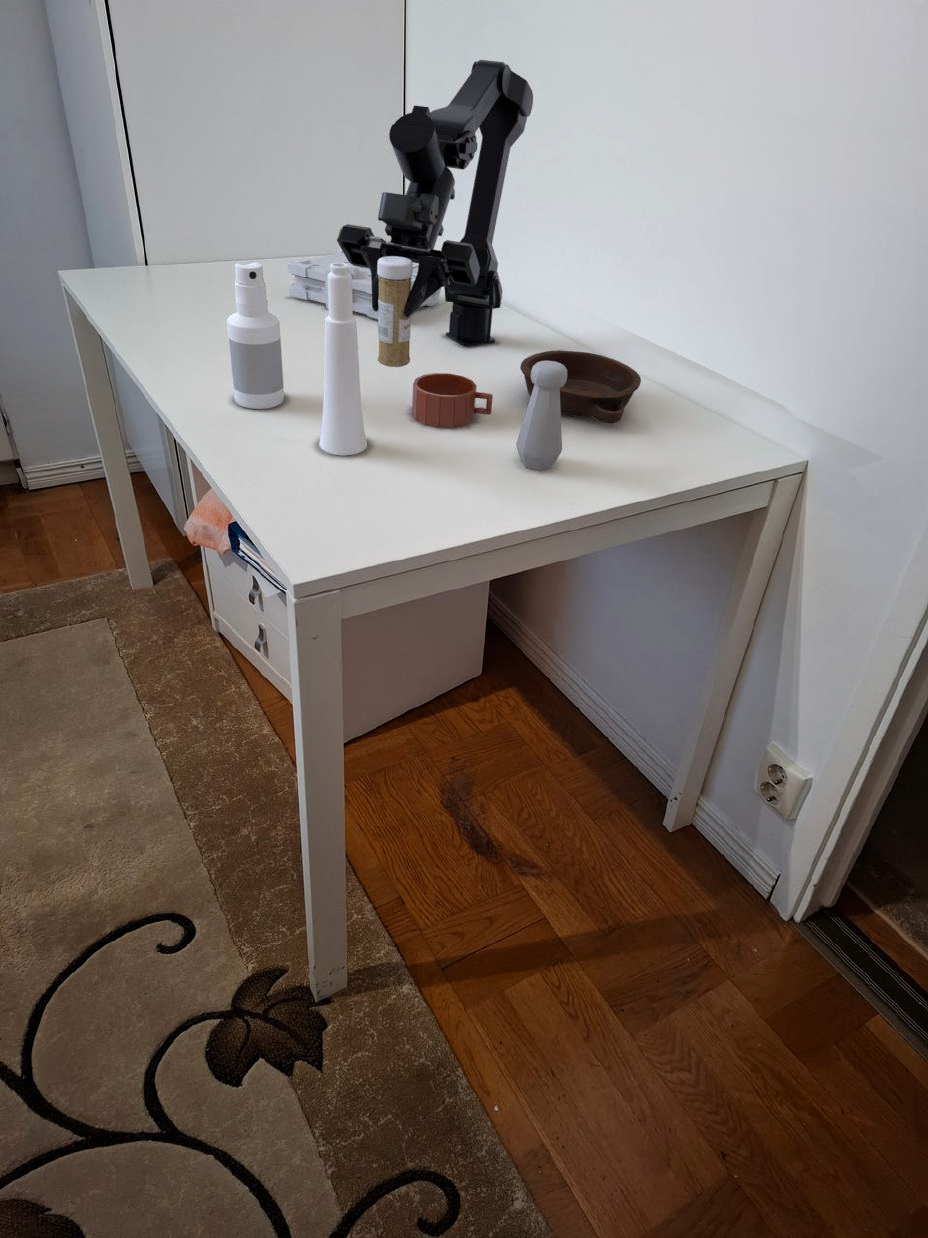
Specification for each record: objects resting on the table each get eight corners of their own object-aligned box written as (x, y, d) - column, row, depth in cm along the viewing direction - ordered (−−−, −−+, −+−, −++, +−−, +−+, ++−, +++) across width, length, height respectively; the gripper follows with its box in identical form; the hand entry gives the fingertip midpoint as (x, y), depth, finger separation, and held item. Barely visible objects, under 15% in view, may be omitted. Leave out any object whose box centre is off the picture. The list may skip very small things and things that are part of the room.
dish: (555, 438, 112) (560, 403, 109) (493, 379, 128) (496, 347, 125) (664, 427, 118) (672, 394, 115) (592, 372, 134) (597, 341, 131)
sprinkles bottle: (414, 367, 113) (417, 263, 105) (382, 369, 111) (382, 264, 103) (404, 355, 116) (407, 254, 108) (373, 357, 115) (373, 255, 107)
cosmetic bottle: (371, 454, 104) (371, 271, 91) (323, 457, 103) (316, 272, 89) (362, 434, 109) (361, 257, 96) (316, 437, 107) (308, 257, 94)
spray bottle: (241, 412, 112) (228, 273, 101) (228, 394, 116) (215, 259, 106) (290, 406, 114) (282, 270, 104) (276, 388, 119) (267, 256, 108)
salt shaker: (511, 452, 107) (523, 354, 100) (554, 454, 108) (569, 356, 100) (517, 473, 103) (530, 371, 95) (562, 474, 103) (578, 373, 96)
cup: (407, 424, 112) (408, 392, 110) (418, 400, 119) (419, 369, 117) (487, 433, 112) (490, 401, 109) (493, 408, 119) (496, 378, 116)
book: (330, 274, 170) (329, 234, 165) (444, 303, 159) (446, 261, 154) (265, 293, 156) (262, 250, 152) (385, 326, 145) (386, 281, 141)
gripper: (341, 154, 105) (303, 265, 103) (479, 174, 100) (442, 290, 99) (368, 211, 115) (334, 313, 114) (494, 231, 111) (460, 336, 109)
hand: (389, 312), depth 108 cm, fingers closed on sprinkles bottle, 4 cm apart
